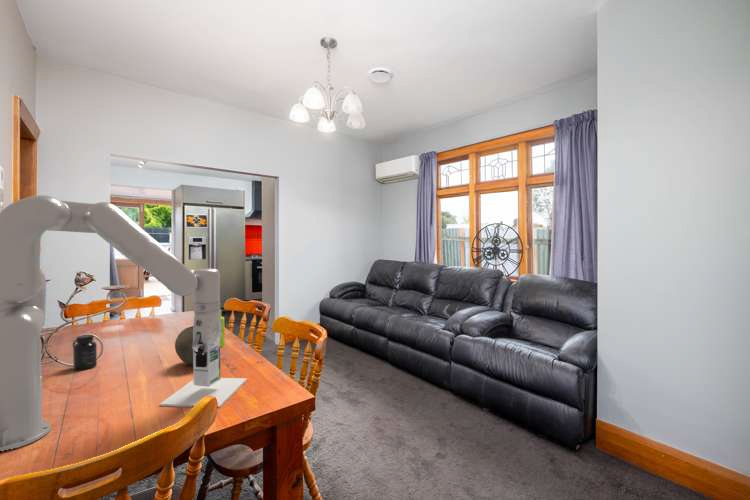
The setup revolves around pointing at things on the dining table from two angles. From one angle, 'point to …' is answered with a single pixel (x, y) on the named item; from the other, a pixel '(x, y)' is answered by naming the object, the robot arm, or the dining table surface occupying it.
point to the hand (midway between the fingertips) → (207, 362)
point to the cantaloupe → (185, 345)
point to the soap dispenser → (222, 329)
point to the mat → (204, 392)
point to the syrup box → (208, 366)
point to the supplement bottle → (84, 353)
